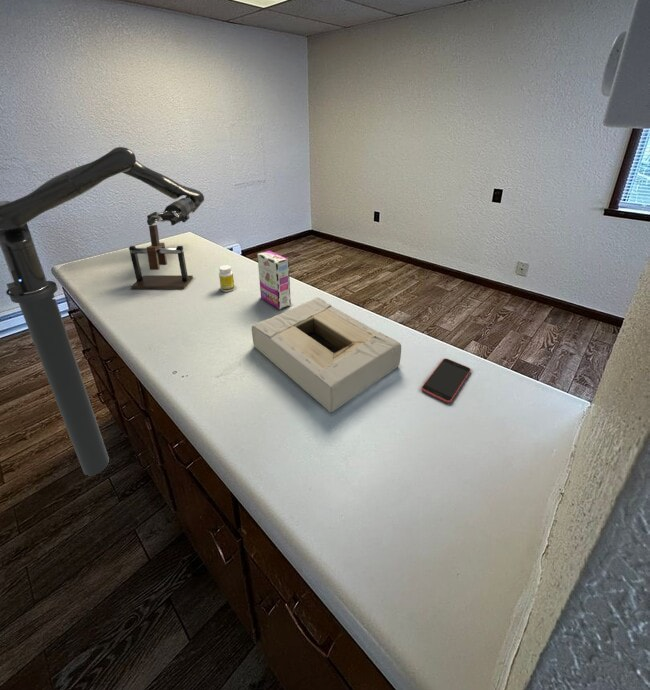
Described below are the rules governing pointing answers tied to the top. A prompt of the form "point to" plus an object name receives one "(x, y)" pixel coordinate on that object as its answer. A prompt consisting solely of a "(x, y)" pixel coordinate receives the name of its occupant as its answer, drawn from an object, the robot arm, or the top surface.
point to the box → (326, 351)
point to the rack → (160, 280)
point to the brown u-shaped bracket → (155, 250)
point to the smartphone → (446, 380)
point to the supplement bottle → (226, 278)
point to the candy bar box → (274, 279)
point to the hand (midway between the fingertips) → (160, 222)
